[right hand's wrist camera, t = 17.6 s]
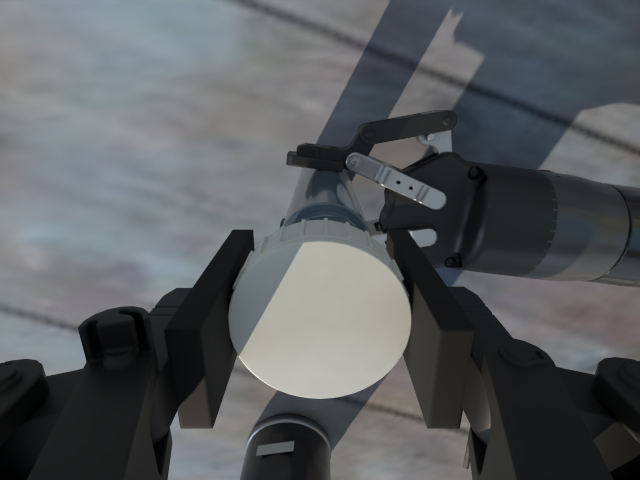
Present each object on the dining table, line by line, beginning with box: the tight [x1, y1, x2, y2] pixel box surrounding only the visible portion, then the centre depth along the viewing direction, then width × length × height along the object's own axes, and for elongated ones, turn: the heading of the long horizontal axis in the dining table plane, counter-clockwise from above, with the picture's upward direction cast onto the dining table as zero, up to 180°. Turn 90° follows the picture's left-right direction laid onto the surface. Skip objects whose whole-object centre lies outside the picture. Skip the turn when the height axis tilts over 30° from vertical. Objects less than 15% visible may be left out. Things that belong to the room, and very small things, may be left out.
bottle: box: [283, 168, 371, 236], centre depth 23 cm, size 4×4×18 cm
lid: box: [228, 218, 412, 399], centre depth 11 cm, size 5×5×2 cm
